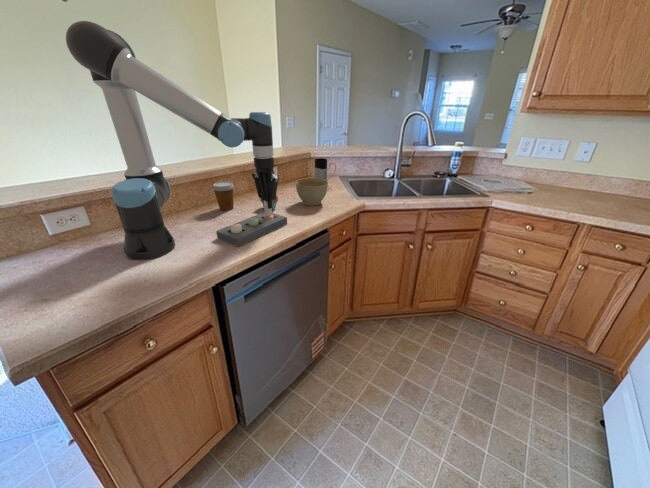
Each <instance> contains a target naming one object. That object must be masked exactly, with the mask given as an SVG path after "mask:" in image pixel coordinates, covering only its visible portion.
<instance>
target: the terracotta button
mask: <svg viewBox="0 0 650 488" xmlns="http://www.w3.org/2000/svg"><path fill="white" fill-rule="evenodd" d="M264 219H266V220H271V219H274V215H270V216H265V215H264Z"/></svg>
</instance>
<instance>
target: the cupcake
mask: <svg viewBox="0 0 650 488" xmlns="http://www.w3.org/2000/svg"><path fill="white" fill-rule="evenodd" d="M259 200H260V202H261V203H262V204H263V200H262V198H259ZM278 201H279V197H278V195H277V194H276V199H274V200H272V210H274V209H276V207H277V206H276V205H277V203H278Z"/></svg>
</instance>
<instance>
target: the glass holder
mask: <svg viewBox="0 0 650 488" xmlns="http://www.w3.org/2000/svg"><path fill="white" fill-rule="evenodd" d="M331 164H333V165H334V167H335V168H334V173H333V174H332V175H331V176H330V177H329V178H328V170H330V168H331ZM336 171H337V165H336V163H335V162H330V163H329V165H328V159H327V158H320V157H319V158H318V157H317V158H315V159H314V178H318V179H323V180H326V181H328V180H329V179H331V178H332V177H333V176H334V175H335V173H336Z"/></svg>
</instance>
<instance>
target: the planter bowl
mask: <svg viewBox="0 0 650 488" xmlns="http://www.w3.org/2000/svg"><path fill="white" fill-rule="evenodd" d="M328 185H329V182H328V180H327V181H326V180H323V179H318V178H315V177H306V178H300V179H297V180H296V181H295V188H296V192H297V195H298V198H300V200H301V202H302V204H303V205H305V206H314V207H315V206H319V205H321V204H322V201H323V200H324V198H325V197H326V195H327V192H328Z"/></svg>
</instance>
